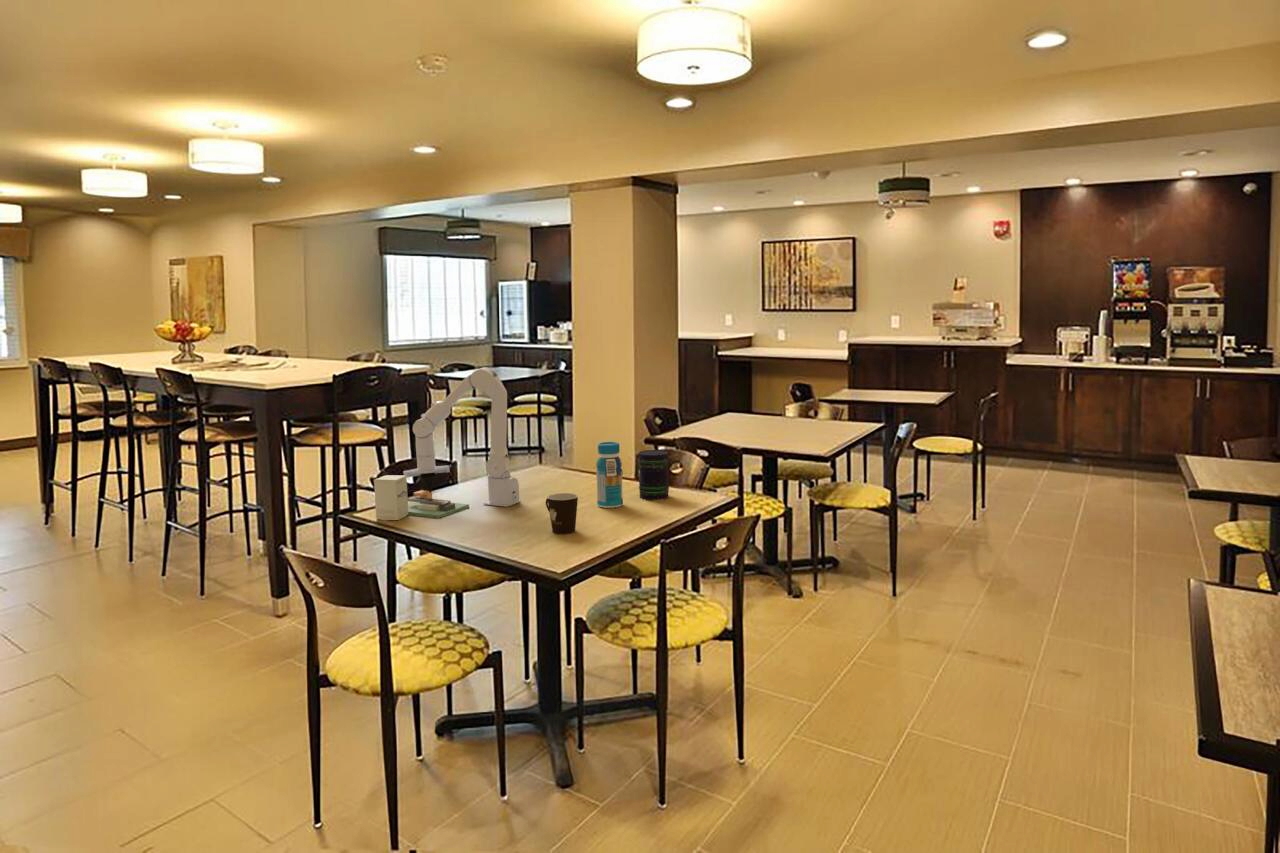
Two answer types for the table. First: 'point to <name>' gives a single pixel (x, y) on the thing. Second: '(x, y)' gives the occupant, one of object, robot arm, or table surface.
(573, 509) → the coffee mug
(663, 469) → the storage jar
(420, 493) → the lug
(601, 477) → the beverage bottle
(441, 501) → the grey flat bar
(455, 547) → the table surface
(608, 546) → the table surface
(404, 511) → the supplement box
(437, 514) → the board
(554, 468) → the table surface
